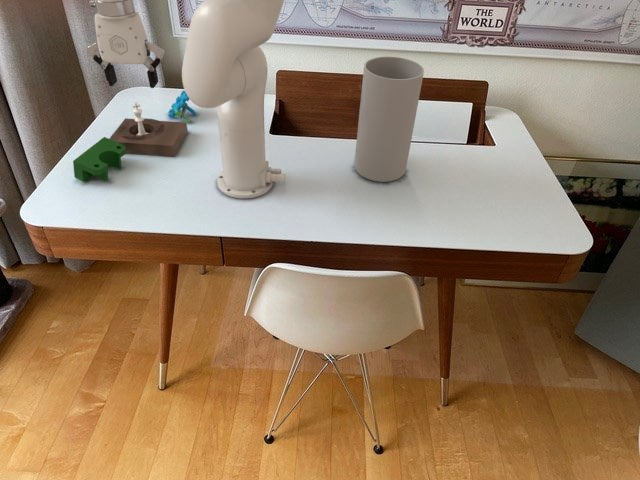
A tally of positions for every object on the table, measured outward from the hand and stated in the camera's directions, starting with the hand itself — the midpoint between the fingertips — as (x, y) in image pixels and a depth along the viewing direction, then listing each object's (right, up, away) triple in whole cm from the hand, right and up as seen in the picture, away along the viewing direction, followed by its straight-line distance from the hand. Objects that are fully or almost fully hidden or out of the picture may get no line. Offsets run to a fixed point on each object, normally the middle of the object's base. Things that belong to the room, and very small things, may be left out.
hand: (133, 84), depth 115 cm
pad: (+1, -12, +9) cm, 15 cm away
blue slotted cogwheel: (+6, -2, +20) cm, 21 cm away
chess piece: (-1, -11, +10) cm, 15 cm away
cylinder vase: (+58, -19, +4) cm, 62 cm away
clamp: (-6, -21, -2) cm, 22 cm away
